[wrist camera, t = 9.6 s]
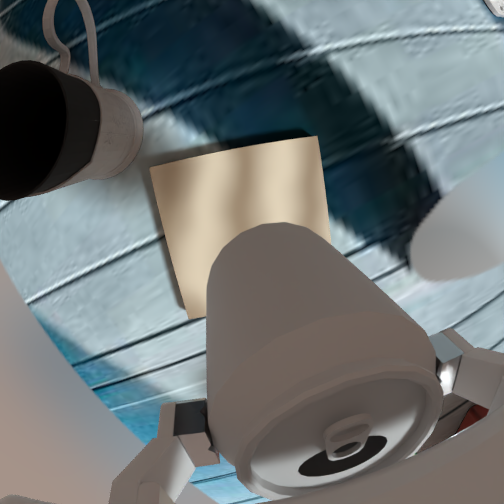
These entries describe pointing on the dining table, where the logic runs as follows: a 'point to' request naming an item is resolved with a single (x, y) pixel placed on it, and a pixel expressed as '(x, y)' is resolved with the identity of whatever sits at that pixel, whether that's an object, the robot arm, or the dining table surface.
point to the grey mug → (62, 121)
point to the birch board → (235, 203)
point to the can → (310, 365)
